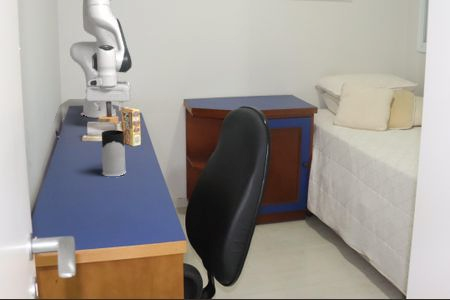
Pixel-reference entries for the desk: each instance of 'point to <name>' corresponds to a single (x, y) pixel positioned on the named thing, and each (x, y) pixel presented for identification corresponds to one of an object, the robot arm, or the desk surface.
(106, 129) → the press bed
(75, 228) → the desk surface
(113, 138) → the glass holder
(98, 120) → the housing
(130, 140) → the candy box
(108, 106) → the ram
